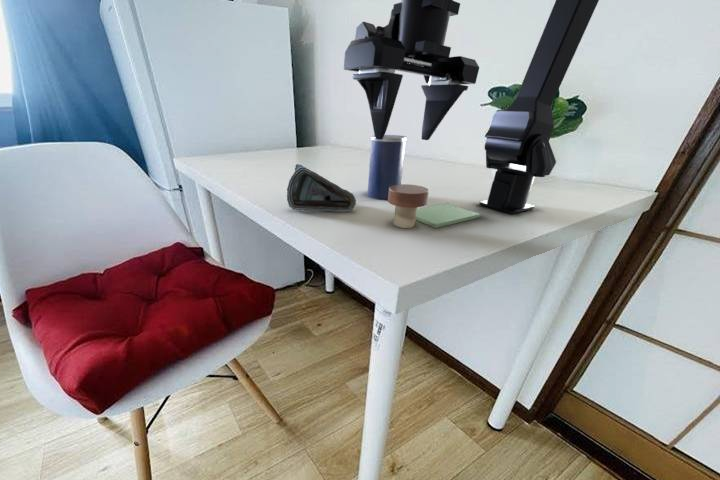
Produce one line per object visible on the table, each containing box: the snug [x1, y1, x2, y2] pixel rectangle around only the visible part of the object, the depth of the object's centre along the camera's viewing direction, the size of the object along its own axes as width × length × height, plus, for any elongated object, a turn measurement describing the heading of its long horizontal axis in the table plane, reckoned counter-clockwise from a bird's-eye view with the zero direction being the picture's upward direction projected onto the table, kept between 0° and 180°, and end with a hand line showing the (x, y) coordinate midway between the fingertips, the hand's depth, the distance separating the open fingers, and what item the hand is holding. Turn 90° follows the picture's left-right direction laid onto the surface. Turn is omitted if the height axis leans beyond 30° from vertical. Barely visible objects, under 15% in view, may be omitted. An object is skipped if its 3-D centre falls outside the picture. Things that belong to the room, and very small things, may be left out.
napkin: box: [415, 202, 481, 229], centre depth 50 cm, size 10×7×1 cm
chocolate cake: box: [286, 163, 357, 213], centre depth 56 cm, size 10×7×12 cm
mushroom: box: [387, 183, 430, 229], centre depth 46 cm, size 6×6×6 cm
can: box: [367, 134, 408, 200], centre depth 59 cm, size 6×6×11 cm
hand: (403, 139), depth 42 cm, fingers open, 9 cm apart
